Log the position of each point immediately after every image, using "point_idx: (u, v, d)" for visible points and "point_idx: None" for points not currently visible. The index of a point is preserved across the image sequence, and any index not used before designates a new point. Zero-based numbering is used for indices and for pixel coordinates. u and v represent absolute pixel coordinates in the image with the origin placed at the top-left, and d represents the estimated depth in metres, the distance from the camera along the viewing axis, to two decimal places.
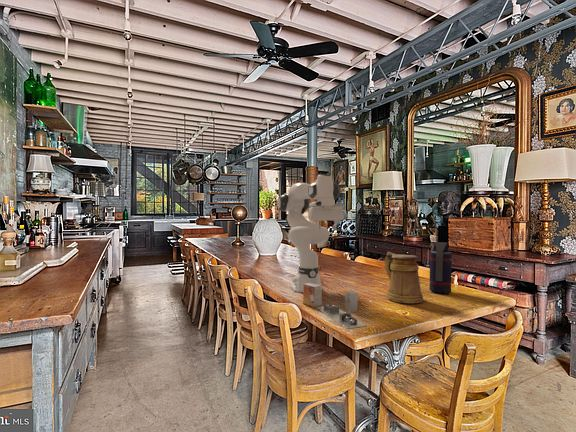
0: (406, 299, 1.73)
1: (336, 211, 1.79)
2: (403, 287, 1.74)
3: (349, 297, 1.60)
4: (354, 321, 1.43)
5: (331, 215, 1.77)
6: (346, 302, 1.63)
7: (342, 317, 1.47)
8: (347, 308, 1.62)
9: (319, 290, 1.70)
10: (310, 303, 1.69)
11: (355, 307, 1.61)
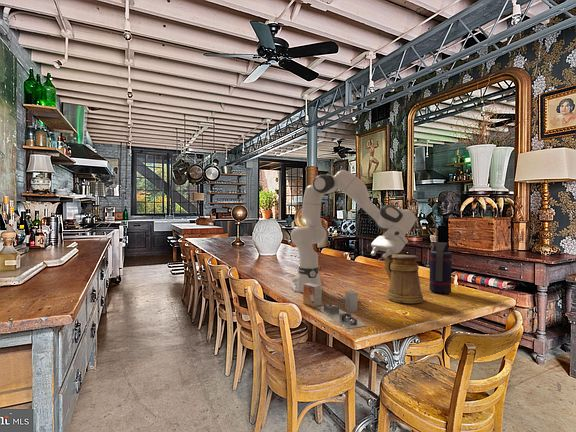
0: (406, 299, 1.73)
1: None
2: (403, 287, 1.74)
3: (349, 297, 1.60)
4: (354, 321, 1.43)
5: None
6: (346, 302, 1.63)
7: (342, 317, 1.47)
8: (347, 308, 1.62)
9: (319, 290, 1.70)
10: (310, 303, 1.69)
11: (355, 307, 1.61)
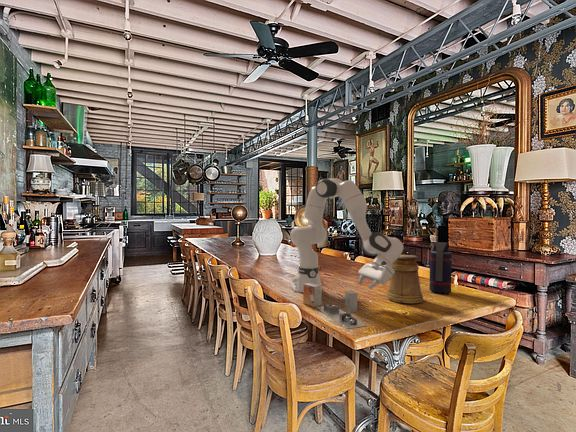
0: (406, 299, 1.73)
1: None
2: (403, 287, 1.74)
3: (349, 297, 1.60)
4: (354, 321, 1.43)
5: None
6: (346, 302, 1.63)
7: (342, 317, 1.47)
8: (347, 308, 1.62)
9: (319, 290, 1.70)
10: (310, 303, 1.69)
11: (355, 307, 1.61)
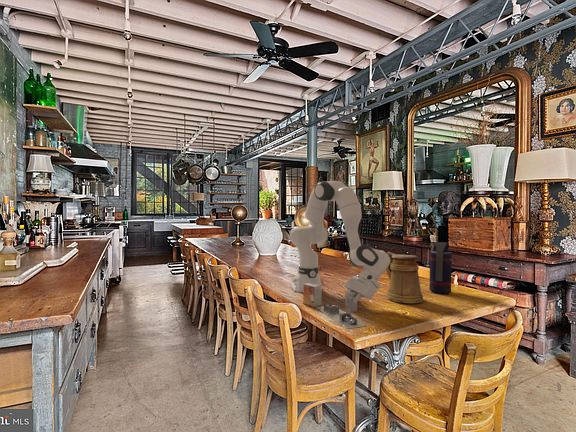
0: (406, 299, 1.73)
1: None
2: (403, 287, 1.74)
3: (349, 297, 1.60)
4: (354, 321, 1.43)
5: None
6: (346, 302, 1.63)
7: (342, 317, 1.47)
8: (347, 308, 1.62)
9: (319, 290, 1.70)
10: (310, 303, 1.69)
11: (355, 307, 1.61)
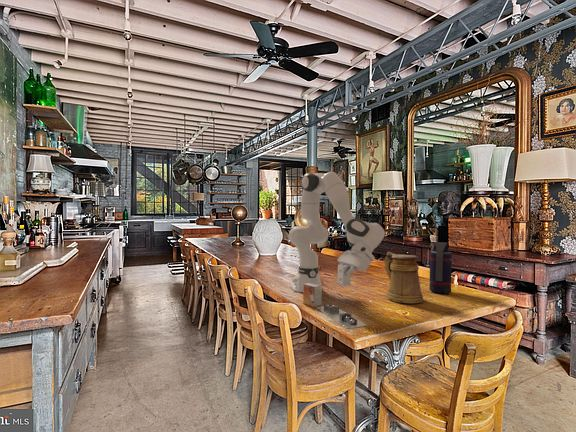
0: (406, 299, 1.73)
1: None
2: (403, 287, 1.74)
3: (342, 270, 1.53)
4: (354, 321, 1.43)
5: None
6: (339, 275, 1.56)
7: (342, 317, 1.47)
8: (340, 282, 1.55)
9: (319, 290, 1.70)
10: (310, 303, 1.69)
11: (348, 281, 1.54)
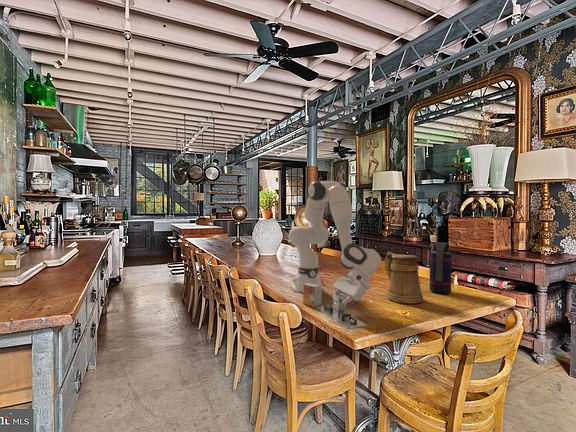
0: (406, 299, 1.73)
1: None
2: (403, 287, 1.74)
3: (337, 301, 1.51)
4: (354, 321, 1.43)
5: None
6: (335, 306, 1.54)
7: (342, 317, 1.47)
8: (335, 313, 1.53)
9: (319, 290, 1.70)
10: (310, 303, 1.69)
11: (343, 312, 1.52)
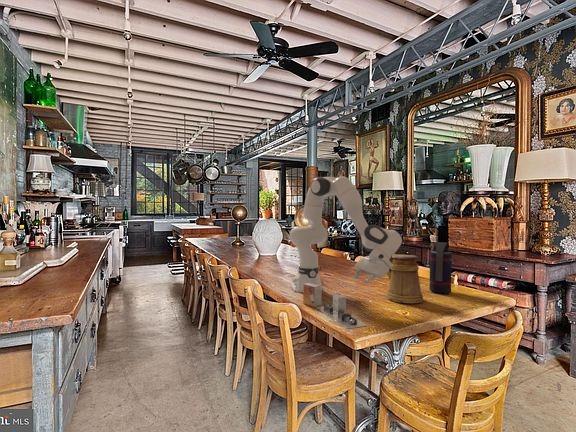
0: (406, 299, 1.73)
1: None
2: (403, 287, 1.74)
3: (337, 301, 1.51)
4: (354, 321, 1.43)
5: None
6: (334, 306, 1.54)
7: (342, 317, 1.47)
8: (335, 313, 1.53)
9: (319, 290, 1.70)
10: (310, 303, 1.69)
11: (343, 312, 1.52)
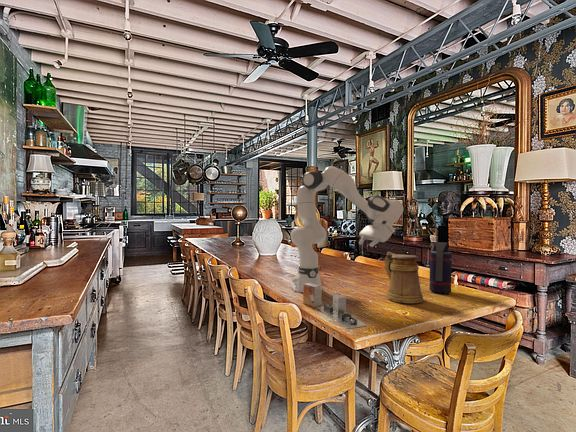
0: (406, 299, 1.73)
1: None
2: (403, 287, 1.74)
3: (337, 301, 1.51)
4: (354, 321, 1.43)
5: None
6: (334, 306, 1.54)
7: (342, 317, 1.47)
8: (335, 313, 1.53)
9: (319, 290, 1.70)
10: (310, 303, 1.69)
11: (343, 312, 1.52)
